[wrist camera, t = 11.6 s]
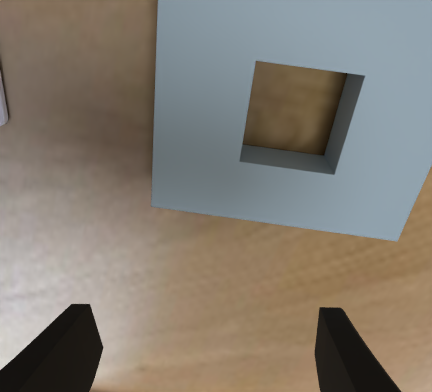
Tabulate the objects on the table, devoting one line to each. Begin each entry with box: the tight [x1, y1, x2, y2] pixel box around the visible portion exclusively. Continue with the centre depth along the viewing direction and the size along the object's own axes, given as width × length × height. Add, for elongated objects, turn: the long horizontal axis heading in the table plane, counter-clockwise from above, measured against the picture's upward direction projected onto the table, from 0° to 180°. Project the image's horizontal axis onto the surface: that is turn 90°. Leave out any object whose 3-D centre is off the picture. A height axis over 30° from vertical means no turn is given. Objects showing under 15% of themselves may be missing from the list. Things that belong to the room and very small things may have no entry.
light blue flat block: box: [151, 0, 432, 241], centre depth 17 cm, size 13×11×2 cm
